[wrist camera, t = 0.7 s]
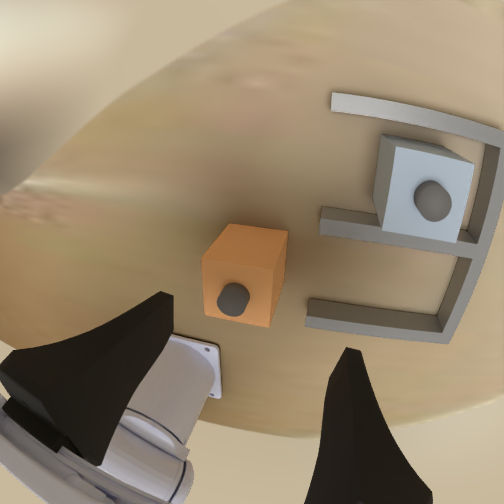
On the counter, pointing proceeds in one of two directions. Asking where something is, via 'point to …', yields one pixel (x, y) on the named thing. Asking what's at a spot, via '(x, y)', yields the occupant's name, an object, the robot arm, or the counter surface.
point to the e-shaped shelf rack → (368, 229)
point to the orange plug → (244, 274)
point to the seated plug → (420, 188)
